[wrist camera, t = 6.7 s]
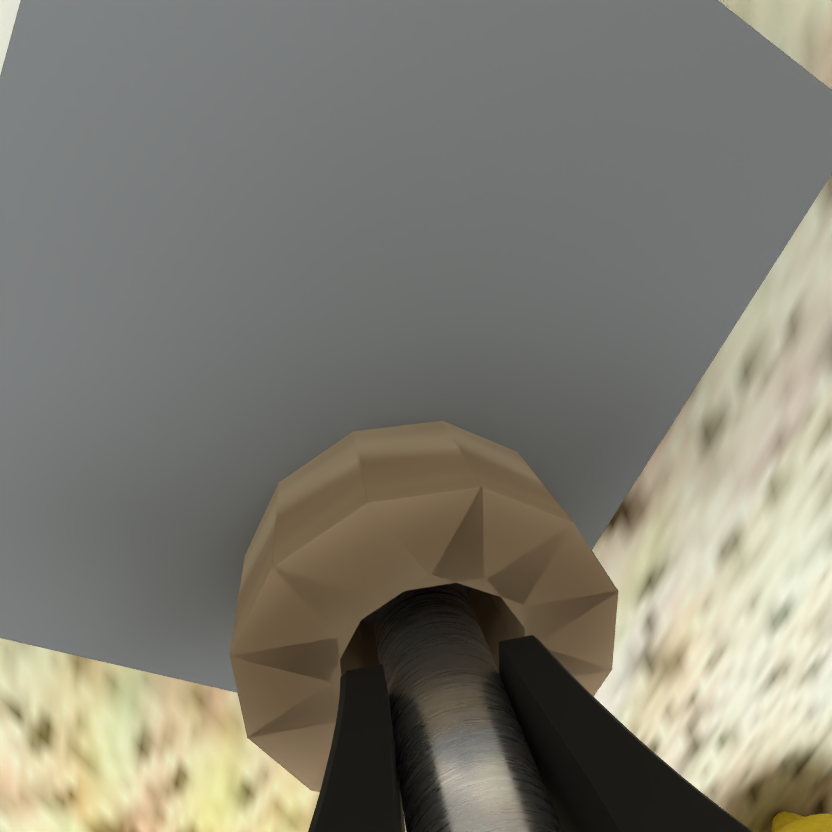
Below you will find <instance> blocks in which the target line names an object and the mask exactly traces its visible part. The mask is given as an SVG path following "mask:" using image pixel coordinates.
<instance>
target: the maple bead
mask: <svg viewBox="0 0 832 832" xmlns="http://www.w3.org/2000/svg"><path fill="white" fill-rule="evenodd" d="M451 583H459V584H462V585H465V586H469V587H472V589H471V591H470V593H469V594H468V598H469V601H470V603H471V605H472V608H473V610H474V613H475V615H476V618H477V620H478V623H479V625H480V628H481V630H482V633H483V635H484V637H485V640H486V642H487V645H488V647H489V650H490V652H491V655H492V657H493V660H494V662H495V665H496V667H497V669H498V672H499V645H498V642H499V641H504V640H509V639H514V638H519V637H525V636H530V635H533V636H535V637H536V638H537V639H539V640H540V641H541V643H542V644H543V645H544V646H545V647H546V648H547V649H548V650H549V651H550V652H551V653H552V654H553V656H554V657H555V658H556V659H557V660H558V661H559V662H560V663H561V664H562V665H563V666H564V667H565V668H566V669H567V670H568V671H569V672H570V673H571V674H572V676H573V677H574V678H575V679H576V680H577V681H578V682H579V683H580V684H581V685H582V686H583V687H584V688H585V689H586V690H587V691H588V692H589V693H590V694H591V695H592V696H594V695H595V693H596V692H597V690H598V689H599V688H600V686H601V685H602V683H603V682H604V680H605V679H606V677H607V676H608V674H609V673H610V672H611V670H612V662H613V649H614V637H615V624H616V612H617V599H618V590H617V588H616V587H615V586H614V584H613V582H612V581H611V579H610V578H609V576H608V575H607V573H606V572H605V570H604V569H603V567H602V566H601V564H600V562H599V561H598V559H597V558H596V556H595V555H594V553H593V552H592V550H591V549H590V547H589V546H588V544H587V542H586V541H585V539H584V538H583V536H582V535H581V533H580V532H579V530H578V529H577V527H576V526H575V524H574V522H573V521H572V519H571V518H570V517H569V516H568V514H567V513H566V512H565V511H564V509H563V508H562V507H561V506H560V504H559V503H558V502H557V501H556V499H555V498H554V497H553V496H552V494H551V493H550V492H549V491H548V489H547V488H546V487H545V486H544V484H543V483H542V482H541V481H540V479H539V478H538V477H537V476H536V474H535V473H534V472H533V471H532V469H531V468H530V467H529V466H528V464H527V463H526V462H525V461H524V459H523V458H522V457H521V456H520V454H519V453H518V452H517V451H514V450H512V449H509V448H507V447H505V446H502V445H500V444H497V443H495V442H493V441H490V440H488V439H485V438H483V437H481V436H478V435H476V434H473V433H471V432H469V431H466V430H464V429H461V428H459V427H457V426H454V425H452V424H449V423H447V422H445V421H435V422H427V423H419V424H410V425H402V426H394V427H385V428H377V429H369V430H361V431H352V432H351V433H350V434H348V435H347V436H346V437H344V438H343V439H341V440H340V441H338V442H337V443H335V444H334V445H332V446H331V447H330V448H328V449H327V450H325V451H324V452H322V453H321V454H319V455H318V456H317V457H315V458H314V459H312V460H311V461H309V462H308V463H306V464H305V465H303V466H302V467H301V468H299V469H298V470H296V471H295V472H293V473H292V474H290V475H289V476H288V477H286V478H285V479H283V480H282V481H280V482H279V483H278V485H277V487H276V490H275V492H274V494H273V496H272V498H271V500H270V503H269V505H268V507H267V509H266V511H265V513H264V516H263V518H262V520H261V522H260V524H259V526H258V528H257V531H256V533H255V535H254V537H253V539H252V541H251V544H250V546H249V548H248V550H247V552H246V554H245V557H244V564H243V571H242V577H241V584H240V590H239V597H238V604H237V610H236V617H235V623H234V630H233V637H232V643H231V650H230V660H231V664H232V669H233V673H234V678H235V683H236V687H237V692H238V696H239V701H240V706H241V710H242V715H243V719H244V724H245V729H246V733H247V738H248V739H250V740H251V741H252V742H253V743H255V744H256V745H257V746H258V747H259V748H261V749H262V750H263V751H264V752H265V753H267V754H268V755H269V756H270V757H271V758H273V759H274V760H275V761H276V762H277V763H279V764H280V765H281V766H282V767H283V768H285V769H286V770H287V771H288V772H289V773H291V774H292V775H293V776H294V777H295V778H297V779H298V780H299V781H300V782H302V783H303V784H304V785H305V786H306V787H308V788H309V789H310V790H312V791H318V792H320V790H321V786H322V782H323V778H324V774H325V770H326V766H327V762H328V758H329V753H330V749H331V745H332V739H333V734H334V729H335V724H336V718H337V712H338V705H339V695H340V677H341V676H342V675H343V674H344V673H345V672H346V671H347V670H353V669H358V668H363V667H368V666H373V665H379V658H378V652H377V646H376V639H375V633H374V627H373V624H370V623H367V622H363V621H361V620H362V619H363V618H365V617H366V616H368V615H369V614H371V613H372V612H374V611H375V610H377V609H378V608H380V607H381V606H383V605H384V604H386V603H387V602H389V601H390V600H392V599H393V598H395V597H396V596H398V595H399V594H401V593H402V592H404V591H407V590H413V589H419V588H426V587H432V586H438V585H445V584H451Z"/></svg>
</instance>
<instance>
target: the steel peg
mask: <svg viewBox="0 0 832 832" xmlns="http://www.w3.org/2000/svg"><path fill="white" fill-rule="evenodd" d="M372 621H373V627H374V633H375V639H376V646H377V652H378V658H379V664H383V668H384V674H385V679H386V684H387V690H388V695H389V702H390V710H391V718H392V726H393V734H394V742H395V750H396V763H397V774H398V781H399V788H400V794H401V800H402V806H403V812H404V818H405V825H406V831H407V832H563V829H562V827H561V824H560V822H559V820H558V817H557V815H556V812H555V810H554V807H553V805H552V802H551V800H550V797H549V795H548V792H547V790H546V788H545V785H544V783H543V780H542V778H541V775H540V773H539V770H538V768H537V765H536V763H535V760H534V758H533V756H532V753H531V751H530V748H529V746H528V743H527V741H526V738H525V736H524V733H523V731H522V728H521V726H520V724H519V721H518V719H517V716H516V714H515V711H514V709H513V706H512V704H511V701H510V699H509V697H508V694H507V692H506V689H505V687H504V684H503V682H502V679H501V677H500V674H499V672H498V669H497V667H496V665H495V662H494V660H493V657H492V655H491V652H490V650H489V647H488V645H487V642H486V640H485V637H484V635H483V633H482V630H481V628H480V625H479V623H478V620H477V618H476V615H475V613H474V610H473V608H472V605H471V603H470V601H469V598H468V596H467V593H466V591H465V589H464V586H463V585H462V584H459V583H451V584H445V585H438V586H432V587H426V588H419V589H413V590H407V591H404V592H402V593H401V594H399V595H398V596H396V597H395V598H393V599H392V600H390V601H389V602H387V603H386V604H384V605H383V606H381V607H380V608H378V609H377V610H375V611H374V612H372Z"/></svg>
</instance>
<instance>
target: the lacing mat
mask: <svg viewBox="0 0 832 832" xmlns="http://www.w3.org/2000/svg"><path fill="white" fill-rule="evenodd" d="M831 174H832V90H831V89H830V88H828V87H827V86H826V85H825V84H823V83H822V82H821V81H819V80H818V79H817V78H816V77H814V76H813V75H812V74H811V73H809V72H808V71H807V70H805V69H804V68H803V67H802V66H800V65H799V64H798V63H797V62H795V61H794V60H793V59H791V58H790V57H789V56H788V55H786V54H785V53H784V52H783V51H781V50H780V49H779V48H777V47H776V46H775V45H774V44H772V43H771V42H770V41H769V40H767V39H766V38H765V37H763V36H762V35H761V34H760V33H758V32H757V31H756V30H755V29H753V28H752V27H751V26H750V25H748V24H747V23H746V22H744V21H743V20H742V19H741V18H739V17H738V16H737V15H736V14H734V13H733V12H732V11H730V10H729V9H728V8H727V7H725V6H724V5H723V4H722V3H720V2H719V1H718V0H21V2H20V5H19V9H18V13H17V16H16V20H15V24H14V27H13V31H12V35H11V38H10V42H9V46H8V49H7V53H6V57H5V61H4V64H3V68H2V72H1V75H0V638H3V639H7V640H12V641H16V642H20V643H25V644H29V645H33V646H38V647H42V648H46V649H51V650H55V651H59V652H64V653H68V654H72V655H77V656H81V657H85V658H90V659H94V660H98V661H103V662H107V663H111V664H116V665H120V666H124V667H129V668H133V669H137V670H142V671H146V672H150V673H155V674H159V675H163V676H168V677H172V678H177V679H181V680H185V681H190V682H194V683H198V684H203V685H207V686H211V687H216V688H220V689H224V690H229V691H233V692H237V687H236V683H235V678H234V673H233V669H232V664H231V660H230V650H231V643H232V637H233V630H234V623H235V617H236V610H237V604H238V597H239V590H240V584H241V577H242V571H243V564H244V557H245V554H246V552H247V550H248V548H249V546H250V544H251V541H252V539H253V537H254V535H255V533H256V531H257V528H258V526H259V524H260V522H261V520H262V518H263V516H264V513H265V511H266V509H267V507H268V505H269V503H270V500H271V498H272V496H273V494H274V492H275V490H276V487H277V485H278V483H279V482H280V481H282V480H283V479H285V478H286V477H288V476H289V475H290V474H292V473H293V472H295V471H296V470H298V469H299V468H301V467H302V466H303V465H305V464H306V463H308V462H309V461H311V460H312V459H314V458H315V457H317V456H318V455H319V454H321V453H322V452H324V451H325V450H327V449H328V448H330V447H331V446H332V445H334V444H335V443H337V442H338V441H340V440H341V439H343V438H344V437H346V436H347V435H348V434H350V433H351V432H352V431H361V430H369V429H377V428H385V427H394V426H402V425H410V424H419V423H427V422H435V421H445V422H447V423H449V424H452V425H454V426H457V427H459V428H461V429H464V430H466V431H469V432H471V433H473V434H476V435H478V436H481V437H483V438H485V439H488V440H490V441H493V442H495V443H497V444H500V445H502V446H505V447H507V448H509V449H512V450H514V451H517V452H518V453H519V454H520V456H521V457H522V458H523V459H524V461H525V462H526V463H527V464H528V466H529V467H530V468H531V469H532V471H533V472H534V473H535V474H536V476H537V477H538V478H539V479H540V481H541V482H542V483H543V484H544V486H545V487H546V488H547V489H548V491H549V492H550V493H551V494H552V496H553V497H554V498H555V499H556V501H557V502H558V503H559V504H560V506H561V507H562V508H563V509H564V511H565V512H566V513H567V514H568V516H569V517H570V518H571V519H572V521H573V522H574V524H575V526H576V527H577V529H578V530H579V532H580V533H581V535H582V536H583V538H584V539H585V541H586V542H587V544H588V546H589V547H590V549H591V550H592V549H593V547H594V546H595V544H596V542H597V541H598V539H599V538H600V536H601V535H602V533H603V531H604V530H605V528H606V527H607V525H608V524H609V522H610V521H611V519H612V517H613V516H614V514H615V513H616V511H617V510H618V508H619V506H620V505H621V503H622V502H623V500H624V499H625V497H626V495H627V494H628V492H629V491H630V489H631V488H632V486H633V484H634V483H635V481H636V480H637V478H638V477H639V475H640V473H641V472H642V470H643V469H644V467H645V466H646V464H647V462H648V461H649V459H650V458H651V456H652V455H653V453H654V451H655V450H656V448H657V447H658V445H659V444H660V442H661V441H662V439H663V437H664V436H665V434H666V433H667V431H668V430H669V428H670V426H671V425H672V423H673V422H674V420H675V419H676V417H677V415H678V414H679V412H680V411H681V409H682V408H683V406H684V404H685V403H686V401H687V400H688V398H689V397H690V395H691V393H692V392H693V390H694V389H695V387H696V386H697V384H698V382H699V381H700V379H701V378H702V376H703V375H704V373H705V371H706V370H707V368H708V367H709V365H710V364H711V362H712V360H713V359H714V357H715V356H716V354H717V353H718V351H719V350H720V348H721V346H722V345H723V343H724V342H725V340H726V339H727V337H728V335H729V334H730V332H731V331H732V329H733V328H734V326H735V324H736V323H737V321H738V320H739V318H740V317H741V315H742V313H743V312H744V310H745V309H746V307H747V306H748V304H749V302H750V301H751V299H752V298H753V296H754V295H755V293H756V291H757V290H758V288H759V287H760V285H761V284H762V282H763V280H764V279H765V277H766V276H767V274H768V273H769V271H770V270H771V268H772V266H773V265H774V263H775V262H776V260H777V259H778V257H779V255H780V254H781V252H782V251H783V249H784V248H785V246H786V244H787V243H788V241H789V240H790V238H791V237H792V235H793V233H794V232H795V230H796V229H797V227H798V226H799V224H800V222H801V221H802V219H803V218H804V216H805V215H806V213H807V211H808V210H809V208H810V207H811V205H812V204H813V202H814V200H815V199H816V197H817V196H818V194H819V193H820V191H821V190H822V188H823V186H824V185H825V183H826V182H827V180H828V179H829V177H830V175H831ZM463 586H464V589H465V591H466V593H467V596H468V594H469V593H470V591H471V589H472V587H469V586H465V585H463ZM361 621H363V622H367V623H370V624H373V621H372V613H371V614H369V615H368V616H366V617H365V618H363V619H362V620H361ZM237 693H238V692H237Z"/></svg>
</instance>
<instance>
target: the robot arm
mask: <svg viewBox="0 0 832 832" xmlns="http://www.w3.org/2000/svg"><path fill="white" fill-rule="evenodd" d="M498 645H499V674H500V677H501V679H502V682H503V684H504V687H505V689H506V692H507V694H508V697H509V699H510V701H511V704H512V706H513V709H514V711H515V714H516V716H517V719H518V721H519V724H520V726H521V728H522V731H523V733H524V736H525V738H526V741H527V743H528V746H529V748H530V751H531V753H532V756H533V758H534V760H535V763H536V765H537V768H538V770H539V773H540V775H541V778H542V780H543V783H544V785H545V788H546V790H547V792H548V795H549V797H550V800H551V802H552V805H553V807H554V810H555V812H556V815H557V817H558V820H559V822H560V824H561V827H562V829H563V832H752V831H751V830H750V829H748V828H747V827H746V826H744V825H743V824H742V823H740V822H739V821H738V820H736V819H735V818H734V817H732V816H731V815H730V814H728V813H727V812H726V811H724V810H723V809H722V808H721V807H719V806H718V805H717V804H715V803H714V802H713V801H712V800H710V799H709V798H708V797H706V796H705V795H704V794H703V793H701V792H700V791H699V790H698V789H696V788H695V787H694V786H693V785H692V784H690V783H689V782H688V781H687V780H685V779H684V778H683V777H682V776H681V775H679V774H678V773H677V772H676V771H675V770H674V769H672V768H671V767H670V766H669V765H668V764H666V763H665V762H664V761H663V760H662V759H661V758H659V757H658V756H657V755H656V754H655V753H654V752H652V751H651V750H650V749H649V748H648V747H647V746H646V745H645V744H643V743H642V742H641V741H640V740H639V739H638V738H637V737H636V736H635V735H634V734H632V733H631V732H630V731H629V730H628V729H627V728H626V727H625V726H624V725H623V724H622V723H621V722H620V721H619V720H617V719H616V718H615V717H614V716H613V715H612V714H611V713H610V712H609V711H608V710H607V709H606V708H605V707H604V706H603V705H602V704H600V703H599V702H598V701H597V700H596V699H595V698H594V697H593V696H592V695H591V694H590V693H589V692H588V691H587V690H586V689H585V688H584V687H583V686H582V685H581V684H580V683H579V682H578V681H577V680H576V679H575V678H574V677H573V676H572V674H571V673H570V672H569V671H568V670H567V669H566V668H565V667H564V666H563V665H562V664H561V663H560V662H559V661H558V660H557V659H556V658H555V657H554V656H553V654H552V653H551V652H550V651H549V650H548V649H547V648H546V647H545V646H544V645H543V644H542V643H541V641H540V640H539V639H537V638H536V637H535V636H533V635H530V636H525V637H519V638H514V639H509V640H504V641H499V642H498ZM308 832H405V824H404V814H403V806H402V800H401V794H400V788H399V781H398V774H397V763H396V750H395V742H394V734H393V726H392V718H391V710H390V702H389V695H388V690H387V684H386V679H385V674H384V668H383V664H379V665H373V666H368V667H363V668H358V669H353V670H347V671H346V672H345V673H344V674H343V675H342V676H341V677H340V695H339V705H338V712H337V718H336V724H335V729H334V734H333V739H332V745H331V749H330V753H329V758H328V762H327V766H326V770H325V774H324V778H323V782H322V786H321V790H320V794H319V798H318V801H317V805H316V808H315V811H314V815H313V818H312V821H311V824H310V828H309V831H308Z"/></svg>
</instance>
